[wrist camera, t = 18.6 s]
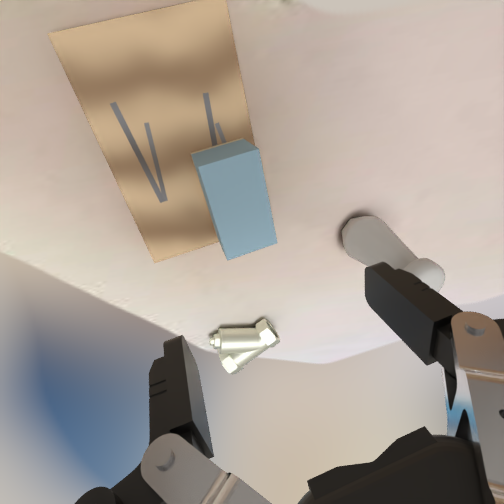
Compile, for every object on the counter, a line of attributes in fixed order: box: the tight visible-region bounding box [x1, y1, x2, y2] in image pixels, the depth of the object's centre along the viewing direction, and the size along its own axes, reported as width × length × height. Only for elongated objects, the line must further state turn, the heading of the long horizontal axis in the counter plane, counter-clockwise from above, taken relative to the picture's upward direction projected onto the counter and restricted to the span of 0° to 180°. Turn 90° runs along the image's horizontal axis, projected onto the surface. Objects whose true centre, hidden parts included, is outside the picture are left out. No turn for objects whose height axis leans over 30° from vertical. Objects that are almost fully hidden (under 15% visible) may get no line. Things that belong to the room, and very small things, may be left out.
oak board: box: [48, 0, 255, 263], centre depth 29 cm, size 20×13×2 cm, turn 12°
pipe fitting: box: [209, 319, 280, 374], centre depth 42 cm, size 8×4×7 cm
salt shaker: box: [341, 216, 445, 292], centre depth 35 cm, size 6×6×13 cm
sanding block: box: [191, 138, 277, 260], centre depth 29 cm, size 9×5×5 cm, turn 13°
